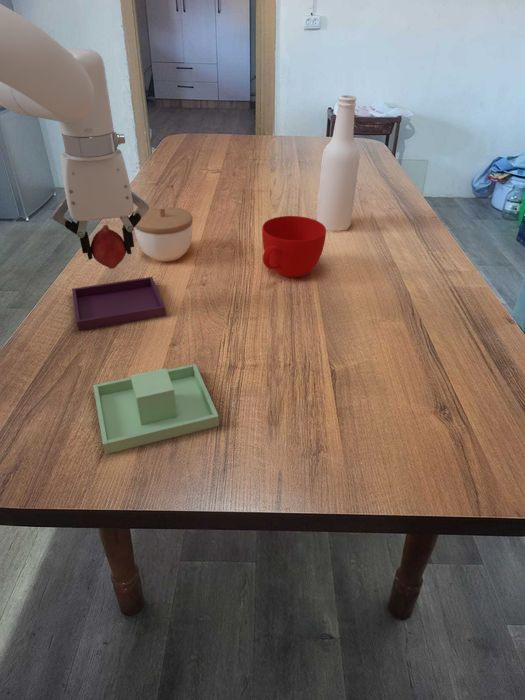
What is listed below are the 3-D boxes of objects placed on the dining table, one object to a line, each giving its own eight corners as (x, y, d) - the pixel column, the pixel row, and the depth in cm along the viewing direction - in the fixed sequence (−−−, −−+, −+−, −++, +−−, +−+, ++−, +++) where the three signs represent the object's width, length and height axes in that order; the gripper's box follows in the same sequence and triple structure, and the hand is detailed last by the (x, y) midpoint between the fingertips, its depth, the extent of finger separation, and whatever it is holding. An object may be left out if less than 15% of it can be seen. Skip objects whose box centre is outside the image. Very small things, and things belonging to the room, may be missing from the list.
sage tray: (105, 456, 63) (102, 444, 62) (95, 396, 72) (93, 384, 71) (219, 428, 68) (218, 416, 66) (196, 375, 77) (195, 363, 75)
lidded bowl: (200, 246, 114) (198, 200, 108) (186, 271, 104) (182, 221, 98) (148, 242, 116) (143, 195, 109) (129, 266, 106) (121, 216, 99)
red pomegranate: (88, 271, 86) (78, 228, 81) (108, 258, 90) (100, 216, 85) (116, 278, 84) (108, 234, 79) (135, 264, 88) (129, 221, 84)
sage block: (141, 425, 67) (136, 398, 64) (135, 401, 71) (130, 375, 68) (177, 416, 69) (174, 389, 66) (169, 394, 72) (166, 367, 69)
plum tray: (79, 333, 85) (76, 321, 84) (74, 299, 94) (71, 288, 93) (166, 317, 90) (165, 307, 88) (153, 286, 99) (152, 276, 98)
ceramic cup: (238, 282, 101) (237, 236, 95) (282, 253, 113) (284, 211, 107) (291, 301, 96) (294, 254, 90) (332, 269, 107) (337, 225, 101)
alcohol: (326, 235, 122) (340, 101, 104) (309, 222, 128) (320, 94, 110) (356, 230, 125) (375, 99, 107) (338, 217, 131) (353, 92, 113)
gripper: (142, 135, 80) (154, 238, 91) (29, 142, 75) (55, 251, 86) (151, 146, 74) (163, 255, 85) (29, 155, 69) (57, 270, 80)
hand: (109, 252), depth 85 cm, fingers closed on red pomegranate, 5 cm apart
